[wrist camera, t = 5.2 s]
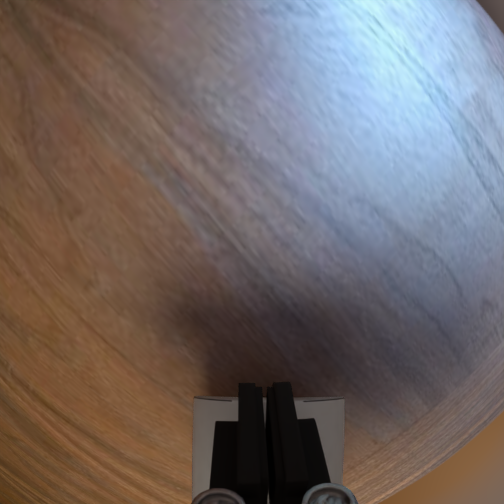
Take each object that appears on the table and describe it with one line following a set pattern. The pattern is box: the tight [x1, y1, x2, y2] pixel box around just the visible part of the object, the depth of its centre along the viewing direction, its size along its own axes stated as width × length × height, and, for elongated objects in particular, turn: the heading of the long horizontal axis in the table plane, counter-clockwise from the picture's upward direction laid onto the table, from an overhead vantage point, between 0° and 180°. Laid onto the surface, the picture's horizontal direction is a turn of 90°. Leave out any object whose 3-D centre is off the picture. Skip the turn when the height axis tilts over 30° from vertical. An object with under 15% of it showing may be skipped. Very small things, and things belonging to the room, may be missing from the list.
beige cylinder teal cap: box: [192, 396, 345, 504], centre depth 12 cm, size 10×7×10 cm
